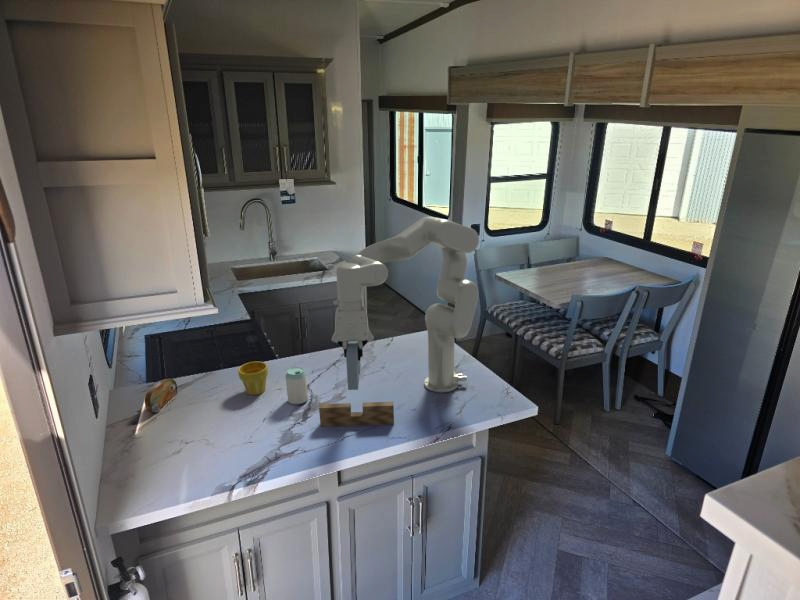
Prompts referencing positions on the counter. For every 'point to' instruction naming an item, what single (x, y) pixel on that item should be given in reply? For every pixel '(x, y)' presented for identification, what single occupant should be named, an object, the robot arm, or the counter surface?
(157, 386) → the tin
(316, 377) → the counter surface
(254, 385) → the plant pot
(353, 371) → the plain grey board
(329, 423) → the walnut slotted board
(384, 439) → the counter surface
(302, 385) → the can
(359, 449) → the counter surface
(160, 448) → the counter surface
